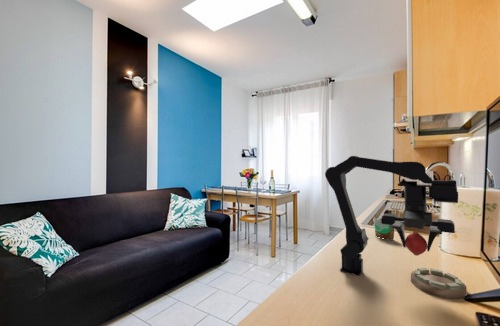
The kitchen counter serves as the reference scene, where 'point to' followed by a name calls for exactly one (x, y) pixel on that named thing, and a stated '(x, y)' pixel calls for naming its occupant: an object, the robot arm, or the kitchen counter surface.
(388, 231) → the food container
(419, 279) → the display stand
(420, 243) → the pomegranate
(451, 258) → the kitchen counter surface
